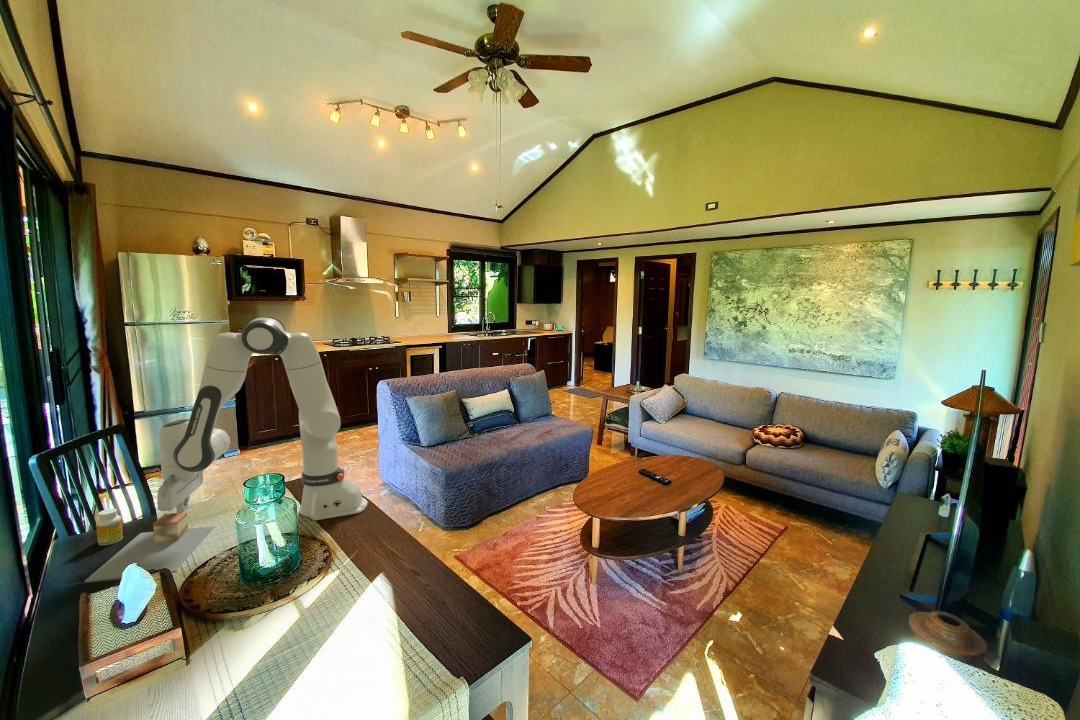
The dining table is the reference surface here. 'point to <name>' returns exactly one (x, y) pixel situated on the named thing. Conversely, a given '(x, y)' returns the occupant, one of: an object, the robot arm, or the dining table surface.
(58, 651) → the dining table surface
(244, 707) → the dining table surface
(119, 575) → the slate mat
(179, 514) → the birch block
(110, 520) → the supplement bottle
